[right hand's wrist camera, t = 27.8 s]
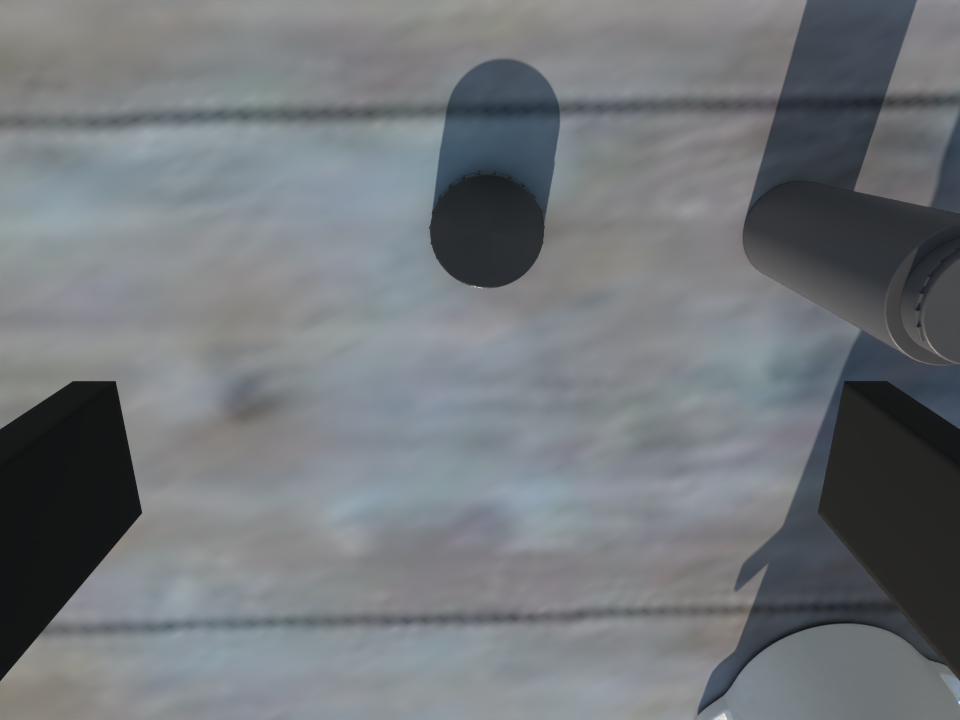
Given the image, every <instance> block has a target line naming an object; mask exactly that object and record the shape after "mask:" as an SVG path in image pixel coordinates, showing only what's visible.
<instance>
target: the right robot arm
mask: <svg viewBox="0 0 960 720" xmlns="http://www.w3.org/2000/svg"><path fill="white" fill-rule="evenodd" d="M141 514H142V510H141V505H140V500H139V495H138V490H137V485H136V480H135V475H134V470H133V465H132V460H131V455H130V450H129V445H128V440H127V435H126V430H125V425H124V420H123V415H122V410H121V406H120V401H119V396H118V391H117V386H116V381H73V382H71V383H70V384H68V385H67V386H65V387H64V388H62V389H61V390H59V391H58V392H56V393H55V394H53V395H52V396H50V397H49V398H47V399H46V400H44V401H42V402H41V403H39V404H38V405H36V406H35V407H33V408H32V409H30V410H29V411H27V412H26V413H24V414H23V415H21V416H20V417H18V418H17V419H15V420H14V421H12V422H11V423H9V424H8V425H6V426H5V427H3V428H2V429H0V681H1V680H2V678H3V677H4V676H5V675H6V674H7V673H8V671H9V670H10V669H11V668H12V667H13V665H14V664H15V663H16V662H17V661H18V659H19V658H20V657H21V656H22V655H23V654H24V652H25V651H26V650H27V649H28V648H29V646H30V645H31V644H32V643H33V642H34V641H35V639H36V638H37V637H38V636H39V635H40V633H41V632H42V631H43V630H44V629H45V627H46V626H47V625H48V624H49V623H50V622H51V620H52V619H53V618H54V617H55V616H56V614H57V613H58V612H59V611H60V610H61V609H62V607H63V606H64V605H65V604H66V603H67V601H68V600H69V599H70V598H71V597H72V595H73V594H74V593H75V592H76V591H77V590H78V588H79V587H80V586H81V585H82V584H83V582H84V581H85V580H86V579H87V578H88V577H89V575H90V574H91V573H92V572H93V571H94V569H95V568H96V567H97V566H98V565H99V563H100V562H101V561H102V560H103V559H104V558H105V556H106V555H107V554H108V553H109V552H110V550H111V549H112V548H113V547H114V546H115V545H116V543H117V542H118V541H119V540H120V539H121V537H122V536H123V535H124V534H125V533H126V531H127V530H128V529H129V528H130V527H131V526H132V524H133V523H134V522H135V521H136V520H137V518H138V517H139V516H140V515H141ZM818 514H819V515H820V516H821V517H822V518H823V520H824V521H825V522H826V523H827V524H828V526H829V527H830V528H831V529H832V530H833V531H834V533H835V534H836V535H837V536H838V537H839V539H840V540H841V541H842V542H843V543H844V545H845V546H846V547H847V548H848V549H849V550H850V552H851V553H852V554H853V555H854V556H855V558H856V559H857V560H858V561H859V562H860V563H861V565H862V566H863V567H864V568H865V569H866V571H867V572H868V573H869V574H870V575H871V577H872V578H873V579H874V580H875V581H876V582H877V584H878V585H879V586H880V587H881V588H882V590H883V591H884V592H885V593H886V594H887V595H888V597H889V598H890V599H891V600H892V601H893V603H894V604H895V605H896V606H897V607H898V609H899V610H900V611H901V612H902V613H903V614H904V616H905V617H906V618H907V619H908V620H909V622H910V623H911V624H912V625H913V626H914V627H915V629H916V630H917V631H918V632H919V633H920V635H921V636H922V637H923V638H924V639H925V641H926V642H927V643H928V644H929V645H930V646H931V648H932V649H933V650H934V651H935V652H936V654H937V655H938V656H939V657H940V658H941V659H942V661H943V662H944V663H945V664H946V665H947V667H948V668H949V669H950V670H951V671H952V673H953V674H954V675H955V676H956V677H957V678H958V680H959V681H960V429H958V428H957V427H955V426H954V425H952V424H951V423H949V422H948V421H946V420H945V419H943V418H942V417H940V416H939V415H937V414H936V413H934V412H933V411H931V410H930V409H928V408H927V407H925V406H924V405H922V404H921V403H919V402H918V401H916V400H914V399H913V398H911V397H910V396H908V395H907V394H905V393H904V392H902V391H901V390H899V389H898V388H896V387H895V386H893V385H892V384H890V383H889V382H887V381H844V386H843V391H842V396H841V401H840V406H839V410H838V415H837V420H836V425H835V430H834V435H833V440H832V445H831V450H830V455H829V460H828V465H827V470H826V475H825V480H824V485H823V490H822V495H821V500H820V505H819V510H818Z"/></svg>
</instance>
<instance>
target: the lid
mask: <svg viewBox="0 0 960 720" xmlns="http://www.w3.org/2000/svg"><path fill="white" fill-rule="evenodd" d="M534 199H535V197H534V195H533V194H532V195H531V194H530V193H529V191H528V190H527V189H526V188H525V187H524V184H523V183H522V184H520V183H519V182H518V181H516V180H515V179H513V178H511V176H510V175H508V176H506V175H504V174H500V173H496V171H493V172H480V171H478V173H474V174H470V175H468V176H465V175H463V177H462V178H461V179H459V180H458V181H456V182H455V183H453V184H450V185H449V188H448V189H447V190H446V191H445V192H444V194H443V195H440V197H439V201H438V203H437V205H436V207H435V209H433V211H432V214H433V216H432V220H431V225H430V227H429V229H430V237H431V245H432V247H433V250H434V253H435V255H436V258H437V259H438V261H439V262H440V264H441V265H442V267H443V268H444V269H445V270H446V271H447V272H448V273H449V274H450V275H451V276H452V277H454V278H455V279H457V280H458V281H460V282H462V283H464V284H467V285H469V286H473V287H478V288H496V287H501V286H504V285H507V284H509V283H512V282H514V281H515V280H517V279H519V278H520V277H521V276H523V275H524V274H525V273H526V272H527V271H528V270H529V269H530V268H531V266H532V265H533V264H534V262H535V261H536V259H537V258H538V255H539V253H540V250H541V247H542V244H543V237H544V228H545V226H544V225H543V219H542V215H541V213H542V211H541V209H540V208H539V207H538V205H537V203H536V201H535V200H534Z"/></svg>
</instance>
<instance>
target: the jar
mask: <svg viewBox="0 0 960 720" xmlns="http://www.w3.org/2000/svg"><path fill="white" fill-rule="evenodd" d="M743 245H744V250H745V253H746V256H747V258H748V260H749V261H750V262H751V264H752V265H753V266H754V267H755V268H756V269H757V270H758V271H760V272H761V273H763V274H765V275H766V276H768V277H770V278H772V279H773V280H775V281H777V282H779V283H780V284H782V285H784V286H786V287H787V288H789V289H791V290H793V291H794V292H796V293H798V294H800V295H801V296H803V297H805V298H807V299H808V300H810V301H812V302H814V303H815V304H817V305H819V306H821V307H822V308H824V309H826V310H828V311H829V312H831V313H833V314H835V315H837V316H838V317H840V318H842V319H844V320H845V321H847V322H849V323H851V324H852V325H854V326H856V327H858V328H859V329H861V330H863V331H865V332H866V333H868V334H870V335H872V336H873V337H875V338H877V339H879V340H880V341H882V342H884V343H886V344H887V345H889V346H891V347H893V348H894V349H896V350H898V351H900V352H901V353H903V354H905V355H907V356H909V357H910V358H912V359H914V360H916V361H919V362H921V363H925V364H930V365H938V366H945V365H956V364H960V214H958V213H954V212H949V211H944V210H940V209H935V208H930V207H925V206H921V205H916V204H911V203H906V202H902V201H897V200H892V199H887V198H883V197H878V196H873V195H868V194H864V193H859V192H854V191H850V190H845V189H840V188H835V187H831V186H826V185H821V184H816V183H812V182H806V181H794V182H788V183H785V184H782V185H779V186H777V187H775V188H773V189H771V190H770V191H768V192H767V193H766V194H764V195H763V196H762V197H761V198H760V199H759V200H758V201H757V202H756V204H755V205H754V206H753V208H752V209H751V211H750V213H749V215H748V216H747V219H746V222H745V225H744V229H743Z"/></svg>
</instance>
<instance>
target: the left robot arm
mask: <svg viewBox="0 0 960 720" xmlns="http://www.w3.org/2000/svg"><path fill="white" fill-rule="evenodd" d="M696 720H960V681H959V680H958V678H957V677H956V676H955V675H954V674H953V673H952V671H951V670H950V669H949V668H948V667H947V666H946V665H943V664H940V663H937V662H934V661H930V660H928V659H926V658H925V657H923V656H922V655H921V654H920V653H919V652H918V651H917V650H916V649H915V648H914V647H913V646H911V645H910V644H909V643H908V642H907V641H905V640H904V639H902V638H901V637H899V636H897V635H896V634H894V633H891V632H889V631H887V630H884V629H881V628H878V627H874V626H869V625H863V624H848V623H843V624H829V625H823V626H818V627H813V628H809V629H806V630H803V631H800V632H797V633H794V634H792V635H789V636H787V637H785V638H783V639H781V640H779V641H777V642H775V643H774V644H772V645H770V646H769V647H767V648H766V649H764V650H763V651H762V652H760V653H759V654H758V655H757V656H756V657H754V658H753V659H752V660H751V661H750V662H749V663H748V664H747V665H746V666H745V668H744V669H743V670H742V671H741V673H740V674H739V675H738V677H737V678H736V680H735V681H734V683H733V684H732V686H731V687H730V689H729V690H728V691H727V692H726V694H725V695H724V696H722V697H721V698H719V699H718V700H716V701H715V702H714V703H712V704H711V705H709V706H708V707H707V708H705V709H704V710H703V711H702V712H701V713H700V714H699V715H698V717H697V718H696Z"/></svg>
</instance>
